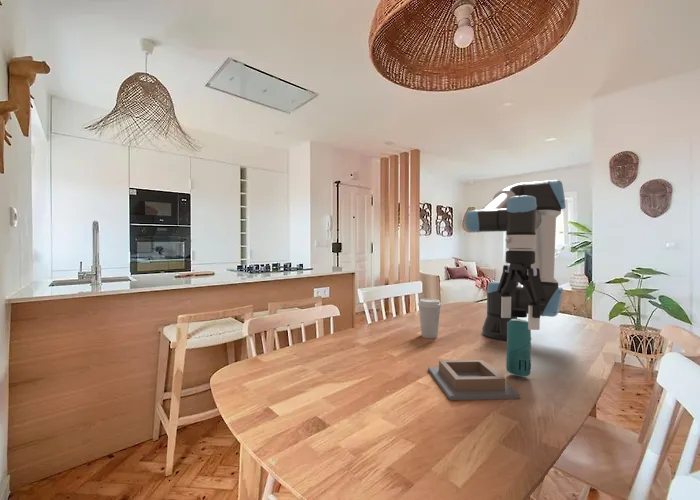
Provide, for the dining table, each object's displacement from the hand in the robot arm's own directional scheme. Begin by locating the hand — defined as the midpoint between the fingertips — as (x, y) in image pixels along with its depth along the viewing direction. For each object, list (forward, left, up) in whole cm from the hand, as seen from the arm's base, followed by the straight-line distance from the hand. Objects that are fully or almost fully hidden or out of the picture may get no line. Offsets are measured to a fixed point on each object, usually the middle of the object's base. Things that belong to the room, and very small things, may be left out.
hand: (518, 323), depth 91 cm
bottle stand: (+16, +3, -16) cm, 23 cm away
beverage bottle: (0, 0, -16) cm, 16 cm away
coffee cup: (+14, -40, -16) cm, 45 cm away
